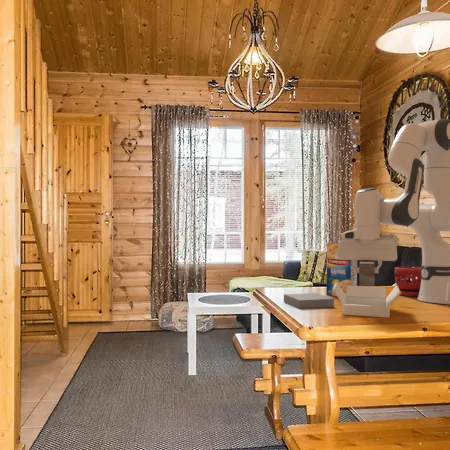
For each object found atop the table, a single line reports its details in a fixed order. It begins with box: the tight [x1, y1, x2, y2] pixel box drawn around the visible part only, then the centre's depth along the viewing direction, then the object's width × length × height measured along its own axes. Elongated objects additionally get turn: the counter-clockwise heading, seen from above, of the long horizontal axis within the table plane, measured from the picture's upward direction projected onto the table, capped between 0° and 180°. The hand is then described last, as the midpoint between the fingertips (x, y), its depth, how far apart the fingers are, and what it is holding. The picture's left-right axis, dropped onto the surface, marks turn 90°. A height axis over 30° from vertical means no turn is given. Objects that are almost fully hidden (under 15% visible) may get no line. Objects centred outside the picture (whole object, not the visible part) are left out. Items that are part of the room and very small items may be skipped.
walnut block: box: [358, 261, 376, 287], centre depth 166 cm, size 12×5×7 cm, turn 163°
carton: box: [333, 283, 401, 318], centre depth 167 cm, size 21×22×9 cm
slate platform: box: [283, 292, 335, 309], centre depth 178 cm, size 14×14×3 cm
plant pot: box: [394, 266, 422, 298], centre depth 204 cm, size 13×13×12 cm
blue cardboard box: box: [325, 242, 358, 297], centre depth 201 cm, size 7×11×22 cm, turn 52°
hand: (366, 273), depth 166 cm, fingers closed on walnut block, 5 cm apart
